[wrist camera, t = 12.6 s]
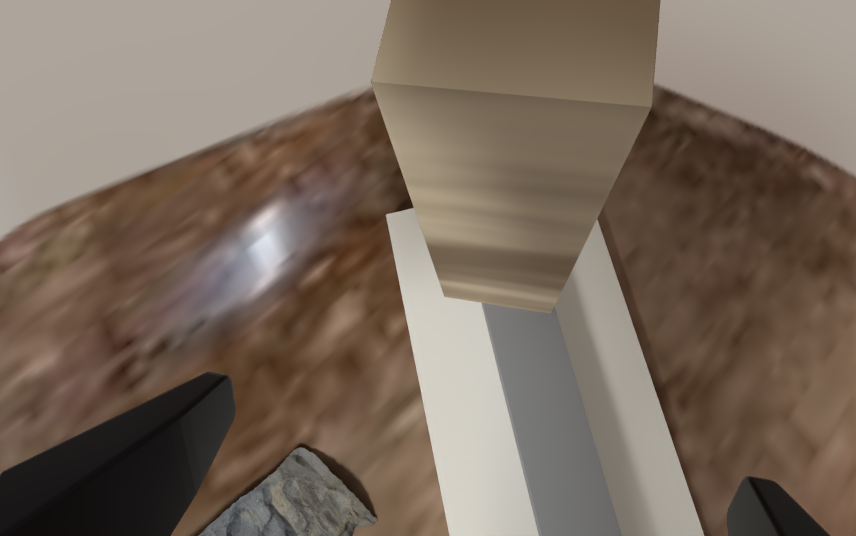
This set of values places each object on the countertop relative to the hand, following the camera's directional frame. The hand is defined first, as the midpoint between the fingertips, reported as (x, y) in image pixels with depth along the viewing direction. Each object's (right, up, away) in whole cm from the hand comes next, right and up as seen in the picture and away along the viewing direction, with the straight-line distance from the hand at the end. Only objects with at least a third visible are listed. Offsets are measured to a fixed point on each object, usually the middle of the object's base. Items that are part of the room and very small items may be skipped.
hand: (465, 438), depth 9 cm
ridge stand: (+4, -4, +12) cm, 14 cm away
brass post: (+2, +3, +11) cm, 12 cm away
